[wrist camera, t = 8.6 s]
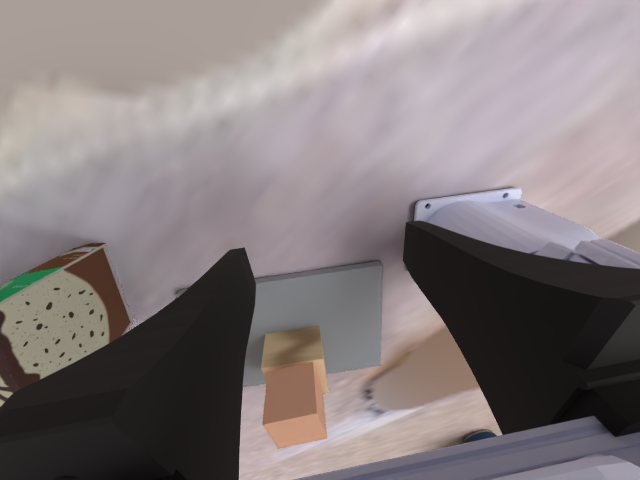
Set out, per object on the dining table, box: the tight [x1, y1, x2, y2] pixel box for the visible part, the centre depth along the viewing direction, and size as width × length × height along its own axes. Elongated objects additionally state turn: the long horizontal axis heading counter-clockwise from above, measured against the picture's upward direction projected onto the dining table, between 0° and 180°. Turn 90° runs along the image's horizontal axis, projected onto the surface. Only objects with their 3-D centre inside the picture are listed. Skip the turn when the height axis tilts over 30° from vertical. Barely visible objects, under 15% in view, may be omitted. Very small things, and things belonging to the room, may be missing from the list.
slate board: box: [176, 261, 383, 387], centre depth 27 cm, size 20×16×1 cm
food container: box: [0, 243, 134, 407], centre depth 18 cm, size 12×6×10 cm, turn 174°
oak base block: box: [261, 326, 329, 394], centre depth 26 cm, size 6×6×4 cm
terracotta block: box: [263, 362, 327, 449], centre depth 22 cm, size 4×4×4 cm
